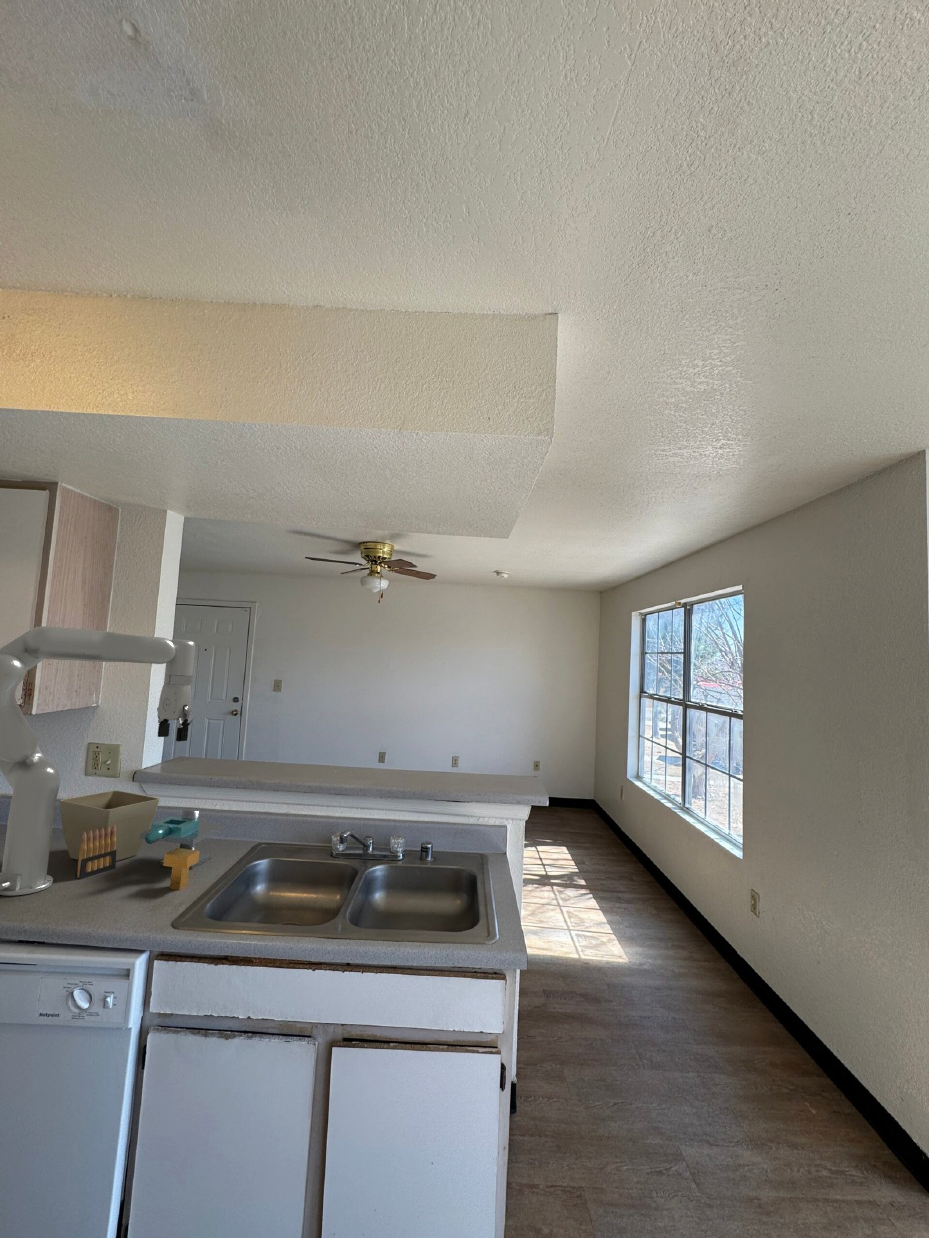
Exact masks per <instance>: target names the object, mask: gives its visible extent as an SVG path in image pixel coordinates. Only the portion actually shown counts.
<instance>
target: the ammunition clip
mask: <svg viewBox="0 0 929 1238" xmlns="http://www.w3.org/2000/svg"><path fill="white" fill-rule="evenodd" d="M98 837H99V842H98ZM92 839H93V843H92ZM115 849H116V827H115V825H114V826H113V828H112V831H111V837H110V828H109V827H108V828H107V830H106V833H105V840H104V829H103V827H102V829H101V831H100V835H99V836H98V830H97V829H96V830H95V833H94V837H93V835H92V831H91V830H90V832H89V834H88V839H87V845H86V833H85V832H84V833H83V835H82V839H81V846H80V850H79V858H78V859H77V861H76V867H75V876H74V878H75V879H80V880H82V879H86V878H88V877H91V876H95V875H98V874H100V873H104V872H107V871H110V870H114V869H116V867H117V861H116V850H115Z"/></svg>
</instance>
